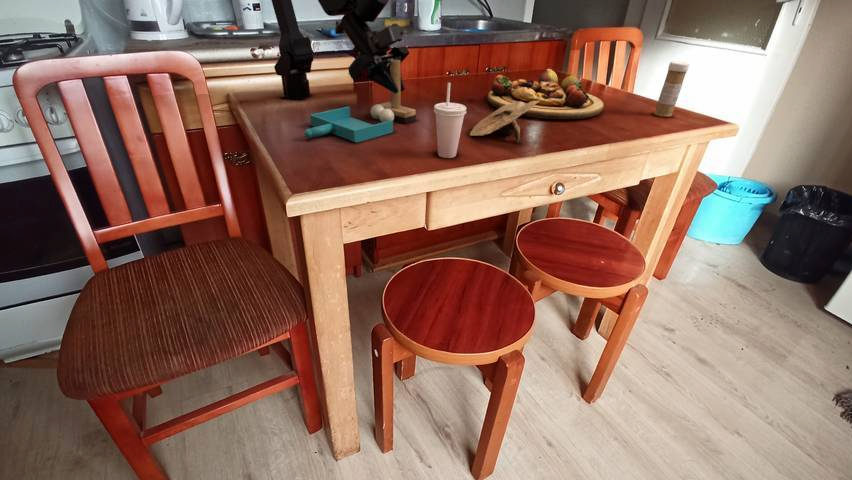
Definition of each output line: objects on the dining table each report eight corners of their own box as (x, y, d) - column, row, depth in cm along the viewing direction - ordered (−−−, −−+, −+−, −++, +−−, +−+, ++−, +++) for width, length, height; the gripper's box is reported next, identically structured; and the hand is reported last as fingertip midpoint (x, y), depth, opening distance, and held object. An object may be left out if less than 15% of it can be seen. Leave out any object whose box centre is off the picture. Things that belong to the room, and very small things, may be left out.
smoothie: (429, 149, 95) (433, 79, 87) (459, 149, 96) (465, 79, 88) (433, 160, 90) (437, 86, 82) (464, 160, 90) (471, 87, 82)
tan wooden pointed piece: (463, 157, 110) (453, 126, 107) (510, 135, 113) (501, 104, 111) (504, 154, 93) (493, 117, 91) (558, 128, 97) (548, 93, 95)
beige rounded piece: (383, 113, 114) (375, 123, 113) (374, 102, 113) (365, 112, 112) (390, 111, 111) (381, 121, 110) (380, 99, 109) (371, 109, 109)
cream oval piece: (393, 111, 110) (389, 125, 111) (379, 106, 109) (375, 121, 110) (397, 111, 107) (393, 126, 108) (383, 106, 105) (379, 122, 106)
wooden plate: (473, 112, 120) (476, 79, 116) (501, 88, 145) (504, 60, 140) (598, 128, 111) (607, 93, 106) (604, 100, 135) (612, 70, 131)
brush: (404, 123, 110) (404, 64, 102) (376, 115, 115) (374, 58, 108) (415, 120, 112) (416, 62, 104) (388, 112, 118) (386, 56, 110)
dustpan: (349, 117, 113) (348, 106, 111) (393, 132, 104) (393, 120, 103) (285, 132, 102) (283, 120, 100) (328, 150, 93) (327, 137, 91)
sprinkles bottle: (662, 112, 125) (679, 60, 118) (675, 117, 122) (694, 63, 114) (649, 113, 124) (666, 60, 116) (662, 118, 120) (680, 64, 113)
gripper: (355, 13, 95) (399, 75, 97) (403, 8, 109) (440, 63, 110) (330, 50, 103) (370, 107, 105) (377, 41, 116) (412, 92, 118)
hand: (400, 91), depth 109 cm, fingers closed on brush, 2 cm apart
